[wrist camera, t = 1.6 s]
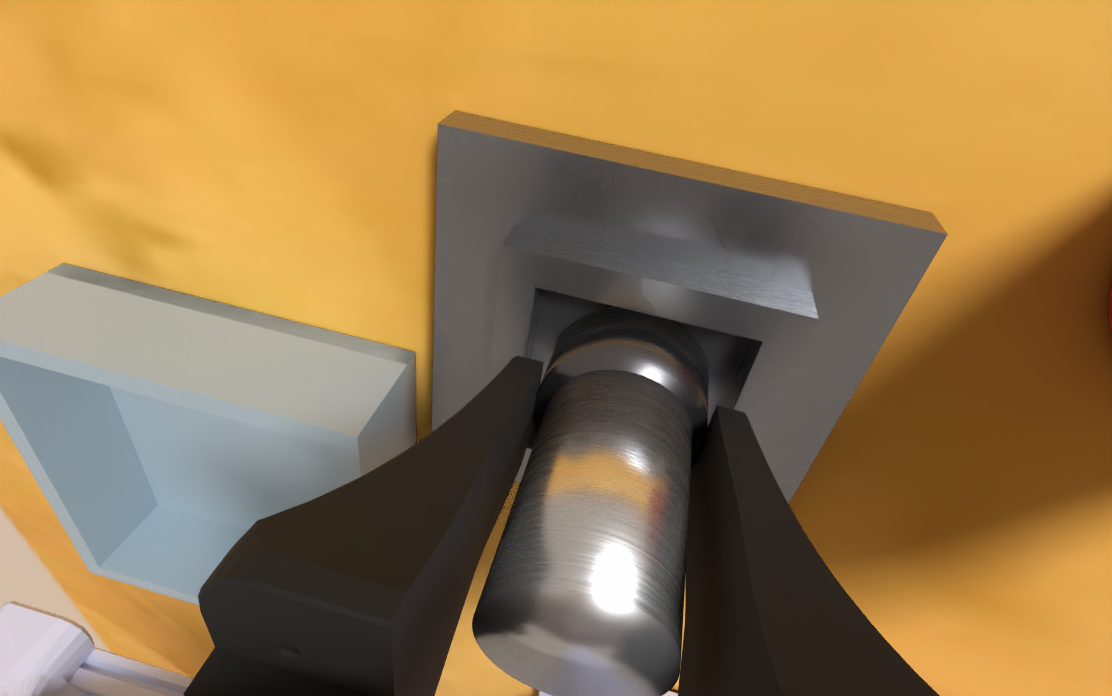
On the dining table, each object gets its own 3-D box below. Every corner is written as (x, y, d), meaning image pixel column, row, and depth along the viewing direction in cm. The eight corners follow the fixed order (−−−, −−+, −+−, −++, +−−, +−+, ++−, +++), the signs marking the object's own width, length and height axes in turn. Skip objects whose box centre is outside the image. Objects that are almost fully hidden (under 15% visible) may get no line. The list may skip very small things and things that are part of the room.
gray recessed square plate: (760, 520, 18) (764, 578, 16) (443, 436, 19) (418, 483, 17) (932, 213, 12) (965, 259, 10) (454, 110, 13) (418, 138, 11)
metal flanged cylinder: (684, 446, 16) (664, 738, 10) (543, 409, 16) (449, 672, 10) (730, 329, 13) (736, 623, 8) (564, 289, 14) (458, 544, 8)
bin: (416, 572, 24) (376, 659, 21) (159, 498, 25) (89, 572, 22) (415, 351, 17) (357, 436, 14) (63, 262, 18) (-55, 326, 15)
